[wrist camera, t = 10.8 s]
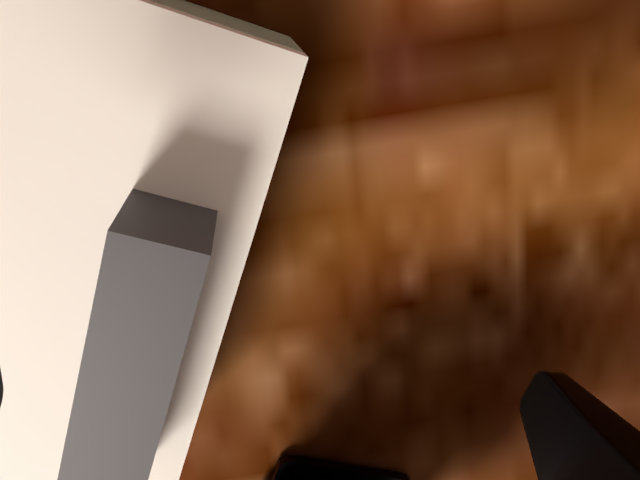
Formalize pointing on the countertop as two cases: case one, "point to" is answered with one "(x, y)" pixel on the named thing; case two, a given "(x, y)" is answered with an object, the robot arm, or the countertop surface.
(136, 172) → the toolbox lid
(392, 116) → the countertop surface
